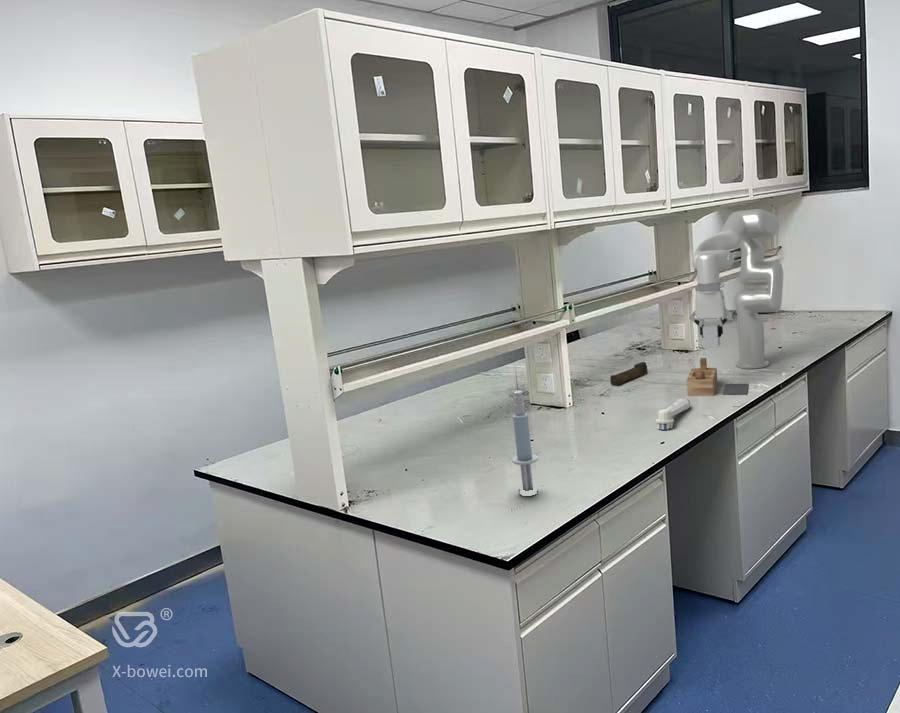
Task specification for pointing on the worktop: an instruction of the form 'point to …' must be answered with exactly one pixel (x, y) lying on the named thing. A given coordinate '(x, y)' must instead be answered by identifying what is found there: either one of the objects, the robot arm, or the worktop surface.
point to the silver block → (711, 335)
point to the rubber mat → (735, 389)
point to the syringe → (523, 441)
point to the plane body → (702, 380)
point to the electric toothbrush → (671, 413)
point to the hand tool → (629, 374)
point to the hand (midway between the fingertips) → (711, 336)
